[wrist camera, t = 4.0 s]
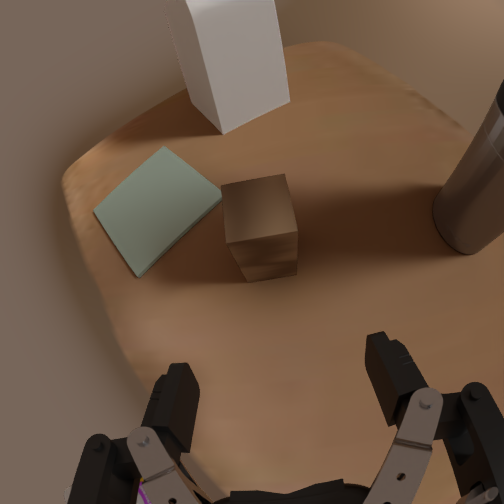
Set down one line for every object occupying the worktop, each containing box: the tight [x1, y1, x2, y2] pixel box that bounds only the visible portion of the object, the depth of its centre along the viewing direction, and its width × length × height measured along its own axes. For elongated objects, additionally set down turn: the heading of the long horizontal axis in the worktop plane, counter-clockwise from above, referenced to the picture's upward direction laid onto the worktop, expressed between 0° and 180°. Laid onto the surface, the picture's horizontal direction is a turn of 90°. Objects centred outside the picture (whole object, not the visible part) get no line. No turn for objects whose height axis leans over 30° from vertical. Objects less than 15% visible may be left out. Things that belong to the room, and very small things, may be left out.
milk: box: [165, 0, 290, 135], centre depth 28 cm, size 12×12×26 cm
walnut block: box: [221, 174, 298, 283], centre depth 24 cm, size 5×5×10 cm
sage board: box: [93, 146, 222, 278], centre depth 34 cm, size 14×14×1 cm
